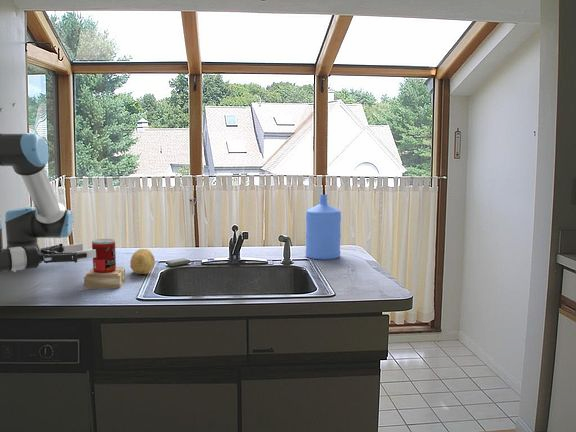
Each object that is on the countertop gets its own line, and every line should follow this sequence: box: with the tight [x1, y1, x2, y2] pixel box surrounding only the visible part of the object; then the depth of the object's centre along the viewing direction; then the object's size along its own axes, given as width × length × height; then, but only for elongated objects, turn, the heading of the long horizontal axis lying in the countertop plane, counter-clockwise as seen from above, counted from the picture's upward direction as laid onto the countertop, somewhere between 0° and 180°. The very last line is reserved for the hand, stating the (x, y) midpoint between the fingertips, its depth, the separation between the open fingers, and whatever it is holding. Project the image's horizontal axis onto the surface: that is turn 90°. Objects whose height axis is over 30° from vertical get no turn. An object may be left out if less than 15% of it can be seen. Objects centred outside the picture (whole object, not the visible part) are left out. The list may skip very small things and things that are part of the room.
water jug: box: [305, 194, 342, 261], centre depth 246 cm, size 16×16×28 cm
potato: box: [129, 248, 156, 275], centre depth 214 cm, size 10×14×10 cm
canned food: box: [91, 238, 117, 273], centre depth 197 cm, size 8×8×11 cm
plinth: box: [83, 266, 126, 290], centre depth 198 cm, size 12×12×5 cm
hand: (88, 250), depth 193 cm, fingers open, 13 cm apart
